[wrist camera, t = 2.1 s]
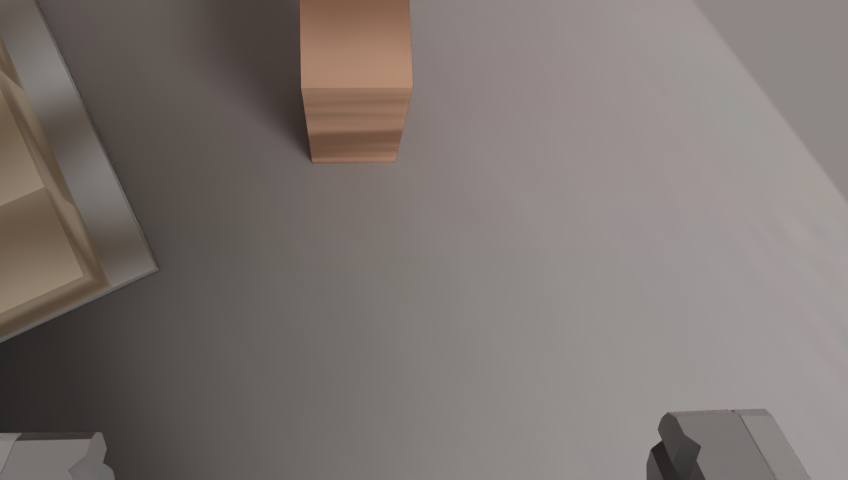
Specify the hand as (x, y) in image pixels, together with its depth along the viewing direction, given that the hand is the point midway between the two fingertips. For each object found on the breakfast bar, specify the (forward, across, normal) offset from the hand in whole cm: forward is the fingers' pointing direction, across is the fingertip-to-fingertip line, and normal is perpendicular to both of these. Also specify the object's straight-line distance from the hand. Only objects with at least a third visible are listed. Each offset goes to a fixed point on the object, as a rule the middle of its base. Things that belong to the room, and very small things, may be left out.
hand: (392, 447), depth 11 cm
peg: (+27, 0, +8) cm, 28 cm away
